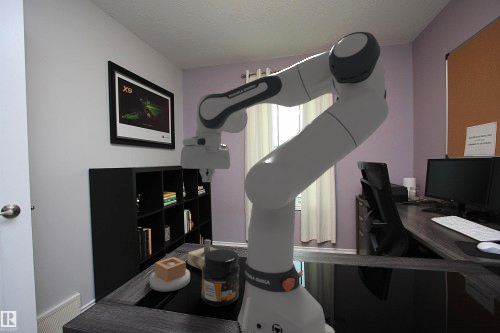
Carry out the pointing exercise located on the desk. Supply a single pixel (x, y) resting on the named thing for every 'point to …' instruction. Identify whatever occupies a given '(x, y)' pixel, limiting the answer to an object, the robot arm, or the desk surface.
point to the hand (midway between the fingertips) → (206, 182)
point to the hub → (171, 285)
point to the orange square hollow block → (170, 269)
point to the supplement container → (220, 277)
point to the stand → (199, 255)
